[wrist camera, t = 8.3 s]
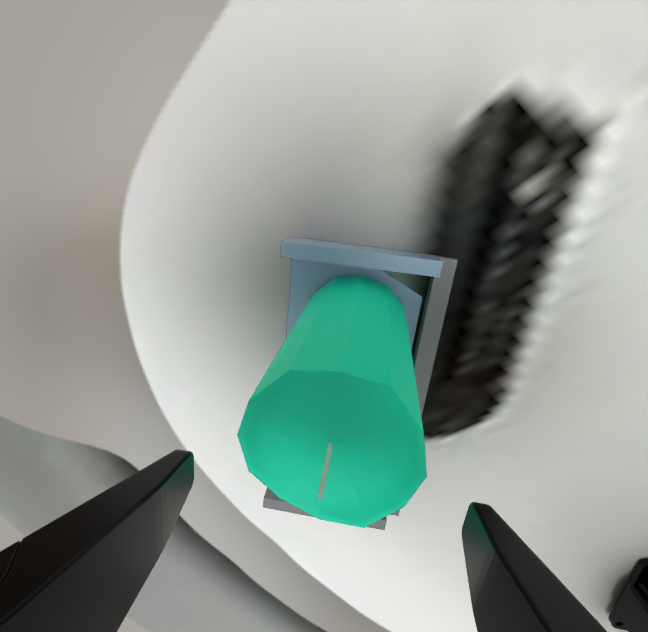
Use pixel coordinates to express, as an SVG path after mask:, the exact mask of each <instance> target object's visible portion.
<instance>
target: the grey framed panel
mask: <svg viewBox="0 0 648 632" xmlns="http://www.w3.org/2000/svg"><path fill="white" fill-rule="evenodd" d="M280 257H284V258H292V267H291V280H290V293H289V305H288V318H287V331H286V339H287V337H288V335H289V334H290V332H291V331H292V329H293V327H294V326H295V324H296V322H297V321H298V319H299V317H300V316H301V314H302V312H303V311H304V309H305V308H306V306H307V304H308V303H309V301H310V299H311V298H312V296H313V294H314V293H315V292H317V291H318V290H319V289H321V288H322V287H323V286H325V285H326V284H327V283H329V282H330V281H332V280H333V279H334V278H339V277H348V276H357V275H364V276H366V277H369V278H371V279H374V280H376V281H378V282H381V283H383V284H386V285H388V286H389V287H390V288H391V290H392V291H393V292H394V294H395V295H396V296H397V298H398V299H399V300H400V302H401V303H402V304H403V306H404V307H405V312H406V319H407V326H408V332H409V339H410V346H411V350H412V345H413V340H414V336H415V331H416V326H417V321H418V316H419V311H420V307H421V302H422V297H421V296H420V295H418V294H417V293H416V292H414V291H413V290H411V289H410V288H408V287H407V286H405V285H404V284H402V283H401V282H399V281H398V280H396V279H395V278H393V277H392V276H390V275H389V274H387V273H386V272H384V271H383V270H385V271H392V272H400V273H408V274H415V275H423V276H431V278H430V282H429V287H428V291H427V296H426V300H425V305H424V309H423V313H422V318H421V322H420V327H419V331H418V336H417V340H416V344H415V349H414V353H413V358H412V359H413V366H414V372H415V379H416V385H417V392H418V399H419V405H420V412H421V416H422V412H423V408H424V403H425V399H426V395H427V390H428V386H429V382H430V377H431V373H432V369H433V365H434V360H435V356H436V352H437V347H438V343H439V339H440V334H441V330H442V326H443V322H444V317H445V313H446V309H447V304H448V300H449V296H450V291H451V287H452V283H453V278H454V274H455V270H456V266H457V261H458V260H457V259H456V258H452V257H444V256H436V255H429V254H421V253H413V252H405V251H398V250H390V249H382V248H374V247H366V246H359V245H351V244H343V243H335V242H328V241H320V240H312V239H304V238H297V237H289V238H287V239H285V240H282V241H281V250H280ZM263 507H264V508H270V509H275V510H280V511H286V512H291V513H296V514H301V515H307V516H312V517H315V516H313V515H311V514H309V513H307V512H305V511H303V510H302V509H300V508H298V507H296V506H294V505H292V504H290V503H288V502H287V501H285V500H283V499H281V498H279V497H278V496H277V495H276V494H275V493H274V492H272V491H271V490H270V489H269V488H268V487H267V490H266V493H265V496H264V501H263ZM399 511H400V509H399V510H397V511H395V512H393V513H392V514H391V515H397V516H398V515H399ZM385 525H386V517H384V518H382V519H380V520H378V521H376V522H374V523H372V524H371V525H369V526H367V527H370V528H376V529H381V530H385Z"/></svg>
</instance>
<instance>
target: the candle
mask: <svg viewBox="0 0 648 632" xmlns="http://www.w3.org/2000/svg"><path fill="white" fill-rule="evenodd" d="M237 435H238V438H239V441H240V444H241V448H242V451H243V454H244V457H245V460H246V463H247V467H248V470H249V472H251V473H252V474H253V475H254V476H255V477H256V478H257V479H259V480H260V481H261V482H262V483H263V484H264V485H266V486H267V487H268V488H269V489H270V490H271V491H272V492H274V493H275V494H276V495H277V496H278V497H279V498H281V499H283V500H285V501H287V502H288V503H290V504H292V505H294V506H296V507H298V508H300V509H302V510H303V511H305V512H307V513H309V514H311V515H313V516H315V517H317V518H318V519H321V520H326V521H332V522H337V523H342V524H347V525H352V526H357V527H363V528H365V527H367V526H369V525H371V524H372V523H374V522H376V521H378V520H380V519H382V518H384V517H386V516H388V515H390V514H392V513H393V512H395V511H397V510H399V509H401V508H403V507H404V506H405V505H406V503H407V502H408V501H409V499H410V498H411V497H412V495H413V494H414V493H415V491H416V490H417V489H418V487H419V486H420V485H421V483H422V482H423V481H424V479H425V478H426V477H427V471H426V458H425V445H424V432H423V425H422V419H421V412H420V405H419V399H418V392H417V385H416V379H415V372H414V366H413V359H412V352H411V346H410V339H409V332H408V326H407V319H406V312H405V307H404V306H403V304H402V303H401V302H400V300H399V299H398V298H397V296H396V295H395V294H394V292H393V291H392V290H391V288H390V287H389V286H388V285H386V284H383V283H381V282H378V281H376V280H374V279H371V278H369V277H366V276H364V275H357V276H348V277H339V278H334V279H333V280H332V281H330V282H329V283H327V284H326V285H325V286H323V287H322V288H321V289H319V290H318V291H317V292H315V293H314V294H313V296H312V298H311V299H310V301H309V303H308V304H307V306H306V308H305V309H304V311H303V312H302V314H301V316H300V317H299V319H298V321H297V322H296V324H295V326H294V327H293V329H292V331H291V332H290V334H289V335H288V337H287V339H286V340H285V342H284V344H283V345H282V347H281V349H280V350H279V352H278V354H277V355H276V357H275V359H274V360H273V362H272V363H271V365H270V367H269V368H268V370H267V372H266V373H265V375H264V377H263V378H262V380H261V382H260V383H259V385H258V387H257V388H256V390H255V391H254V393H253V395H252V396H251V398H250V400H249V402H248V405H247V408H246V411H245V414H244V417H243V420H242V423H241V426H240V428H239V431H238V434H237Z"/></svg>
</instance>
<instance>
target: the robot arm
mask: <svg viewBox="0 0 648 632" xmlns="http://www.w3.org/2000/svg"><path fill="white" fill-rule="evenodd" d="M193 480H194V456H193V453H192V452H190V451H185V450H175V451H173V452H171V453H170V454H168V455H166V456H164V457H163V458H161V459H159V460H157V461H156V462H154V463H152V464H151V465H149V466H147V467H146V468H144V469H142V470H140V471H138V472H137V473H135V474H133V475H132V476H130V477H128V478H126V479H125V480H123V481H121V482H120V483H118V484H116V485H114V486H113V487H111V488H109V489H107V490H106V491H104V492H102V493H101V494H99V495H97V496H95V497H94V498H92V499H90V500H89V501H87V502H85V503H83V504H82V505H80V506H78V507H76V508H75V509H73V510H71V511H70V512H68V513H66V514H64V515H63V516H61V517H59V518H57V519H56V520H54V521H52V522H51V523H49V524H47V525H45V526H44V527H42V528H40V529H39V530H37V531H35V532H33V533H32V534H30V535H28V536H26V537H25V538H23V539H22V541H21V542H20V541H18V542H16V543H14V544H13V545H11V546H9V547H7V548H6V549H4V550H2V551H1V552H0V632H117V630H118V629H119V627H120V625H121V623H122V622H123V620H124V618H125V616H126V615H127V613H128V611H129V609H130V608H131V606H132V604H133V602H134V601H135V599H136V597H137V595H138V593H139V592H140V590H141V588H142V586H143V585H144V583H145V581H146V579H147V578H148V576H149V574H150V572H151V571H152V569H153V567H154V565H155V564H156V562H157V560H158V558H159V556H160V555H161V553H162V551H163V549H164V547H165V545H166V543H167V541H168V539H169V536H170V534H171V532H172V530H173V527H174V525H175V523H176V521H177V519H178V516H179V514H180V512H181V509H182V507H183V505H184V503H185V501H186V498H187V496H188V494H189V492H190V490H191V487H192V484H193ZM462 540H463V547H464V554H465V561H466V568H467V575H468V582H469V589H470V596H471V602H472V608H473V613H474V618H475V622H476V627H477V631H478V632H607V631H606V630H605V629H604V628H603V627H602V625H601V624H600V623H599V622H598V621H597V620H596V619H595V618H594V617H593V616H592V615H591V614H590V613H589V611H588V610H587V609H586V608H585V607H584V606H583V605H582V604H581V603H580V602H579V601H578V600H577V599H576V597H575V596H574V595H573V594H572V593H571V592H570V591H569V590H568V589H567V588H566V587H565V586H564V585H563V583H562V582H561V581H560V580H559V579H558V578H557V577H556V576H555V575H554V574H553V573H552V572H551V571H550V570H549V568H548V567H547V566H546V565H545V564H544V563H543V562H542V561H541V560H540V559H539V558H538V557H537V556H536V554H535V553H534V552H533V551H532V550H531V549H530V548H529V547H528V546H527V545H526V544H525V543H524V542H523V540H522V539H521V538H520V537H519V536H518V535H517V534H516V533H515V532H514V531H513V530H512V529H511V528H510V526H509V525H508V524H507V523H506V522H505V521H504V520H503V519H502V518H501V517H500V516H499V515H498V514H497V513H496V511H495V510H494V509H493V508H492V507H491V506H489V505H487V504H482V503H476V502H472V503H471V504H470V505H469V508H468V511H467V514H466V517H465V521H464V524H463V527H462ZM609 621H610V622H611V624H612V626H613V627H614V628H617V629H622V630H627V631H629V632H648V559H643V560H641V561H640V562H639V563H638V565H637V566H636V568H635V570H634V572H633V574H632V575H631V577H630V579H629V581H628V583H627V584H626V586H625V588H624V590H623V592H622V593H621V595H620V597H619V599H618V601H617V602H616V604H615V606H614V608H613V610H612V611H611V613H610V615H609Z"/></svg>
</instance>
